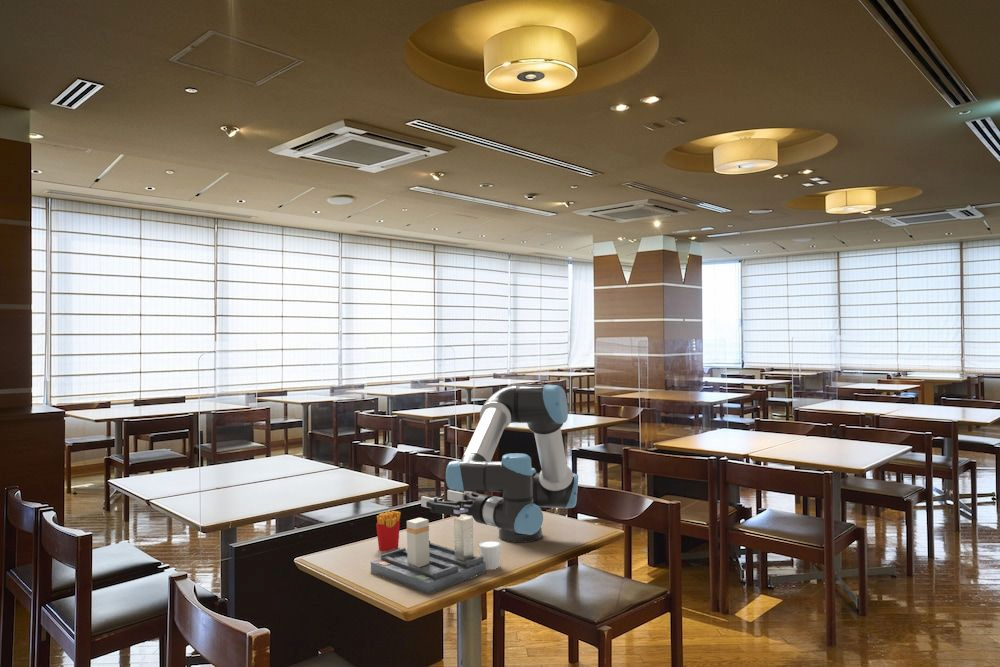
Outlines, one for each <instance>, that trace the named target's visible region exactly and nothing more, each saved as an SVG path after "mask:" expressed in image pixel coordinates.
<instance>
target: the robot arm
mask: <svg viewBox="0 0 1000 667" xmlns="http://www.w3.org/2000/svg"><path fill="white" fill-rule="evenodd" d="M568 416H569V406H568V400H567V394H566V392H565V390H564V388H563V387H562V386H560V385H556V384H551V383H550V384H512V385H508V386H505V387H502V388H500V389H499V390H497V391H495V392H494V393H492V395H490V396H489V397H488V398H487V399H486V401H484V403H483V405H482V407H481V409H480V411H479V421H478V423H477V425H476V428H475V430H474V432H473V434H472V436H471V439H470V441H469V442H468V445H467V447H466V449H465V451H464V453H463V455H462V457H461V459H460V460H459V459H458V460H451V461H449V462H448V464H447V466H446V469H445V470H446V471H445V482H446V486H447V488H448V489H447V491H446V492H447V493H446V494H447V498H446V500H447V501H445V500H444V501H443V500H439V498H436V497H435V498H433V497H430V496H424V495H423V496H421V498H420V499H421V500H420V501H421V502H420V503H421V507H423V508H427V509H430V513H432V514H438V515H439V514H440V515H446V516H447V515H448V516H453V517H455V518H456V517H460V516H461V515H465V516H469V517H473V521H475V522H476V523H478V524H481V525H486V526H491V527H494V528H497V529H498V537H499V539H501V540H502V539H504V540H503V541H505V540H508V541H507V542H510V541H515V542H514V543H529V542H533V541H534V542H535V541H537V540H539V538H540V539H541V538H542V537H543V529H542V525H543V522H544V514H543V512H542V508H552V509H564V510H565V509H573V508H575V507H576V505H577V500H578V487H579V475H578V474H577V473H575V472H573V470H572V469H571V468H570V466H568V464H567V458H566V453H565V452H566V451H565V446H564V441H563V440H564V439H563V435H562V434H563V433H562V427H563V426H564V423H566V422H567V420H568V418H569V417H568ZM513 423H514V424H515V423H516V424H518V423H519V424H527V427H528V429H529V431H531V432H532V433H533V434H534V438H535V443H536V449H537V454H538V459H539V465H540V467H541V470H540V472H537V470H536V468H534V467H532V457H531V456H529V455H528V454H526V453H518V452H517V453H505V454H503V455H502V458H501V461H492V459H493V457H494V454H495V452H496V449H497V447H498V445H499V442H500V439H501V437H502V436H503V432H504V430H505V429H506V428H508V427H509V425H510V424H513ZM460 491H461V492H460ZM464 492H465V493H464ZM468 492H471V493H468ZM478 492H493V493H502V496H501V497H500V496H496V495H490V494H483V493H482V494H481V493H478ZM525 541H526V542H525ZM528 541H529V542H528Z"/></svg>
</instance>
